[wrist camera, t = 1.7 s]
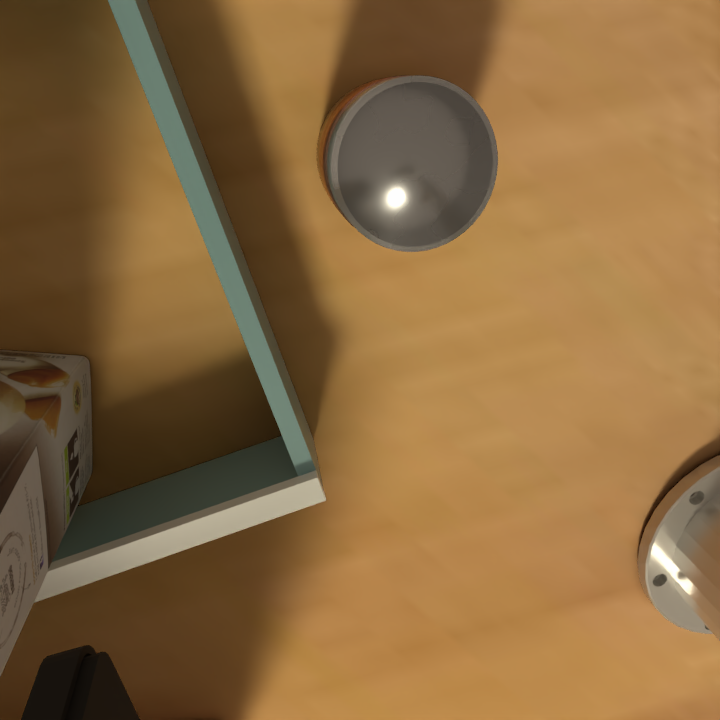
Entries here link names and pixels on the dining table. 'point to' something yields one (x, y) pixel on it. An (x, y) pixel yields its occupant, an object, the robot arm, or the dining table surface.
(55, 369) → the coffee box
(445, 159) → the tin
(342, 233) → the dining table surface
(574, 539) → the dining table surface
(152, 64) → the tray
